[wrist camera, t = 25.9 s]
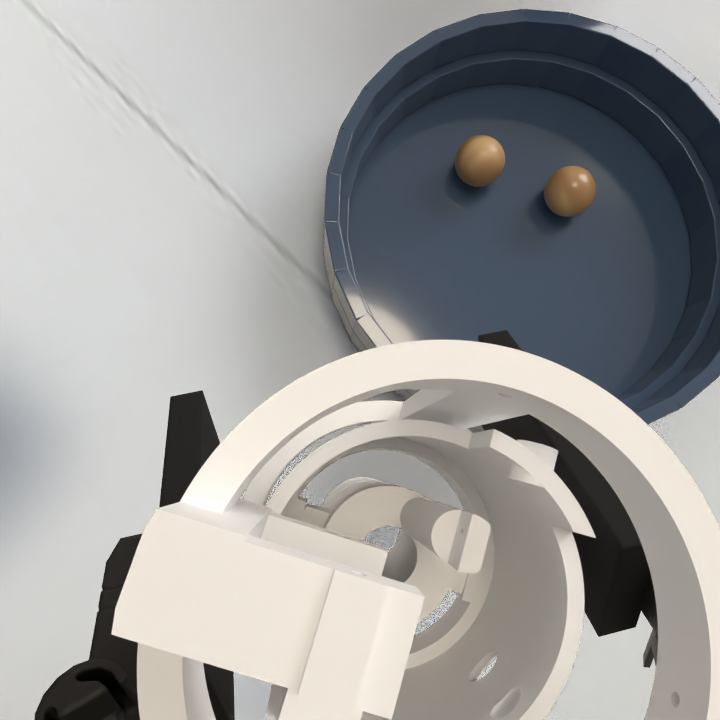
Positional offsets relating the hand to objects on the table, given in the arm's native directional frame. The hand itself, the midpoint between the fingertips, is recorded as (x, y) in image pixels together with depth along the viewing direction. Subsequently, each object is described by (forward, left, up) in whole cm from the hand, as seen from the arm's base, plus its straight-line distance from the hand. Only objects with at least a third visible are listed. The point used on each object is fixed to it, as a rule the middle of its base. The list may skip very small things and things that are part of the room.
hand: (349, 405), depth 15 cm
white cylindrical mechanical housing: (+3, -2, -6) cm, 7 cm away
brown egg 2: (+1, +21, -18) cm, 27 cm away
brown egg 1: (-4, +18, -18) cm, 26 cm away
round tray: (+1, +17, -20) cm, 26 cm away
